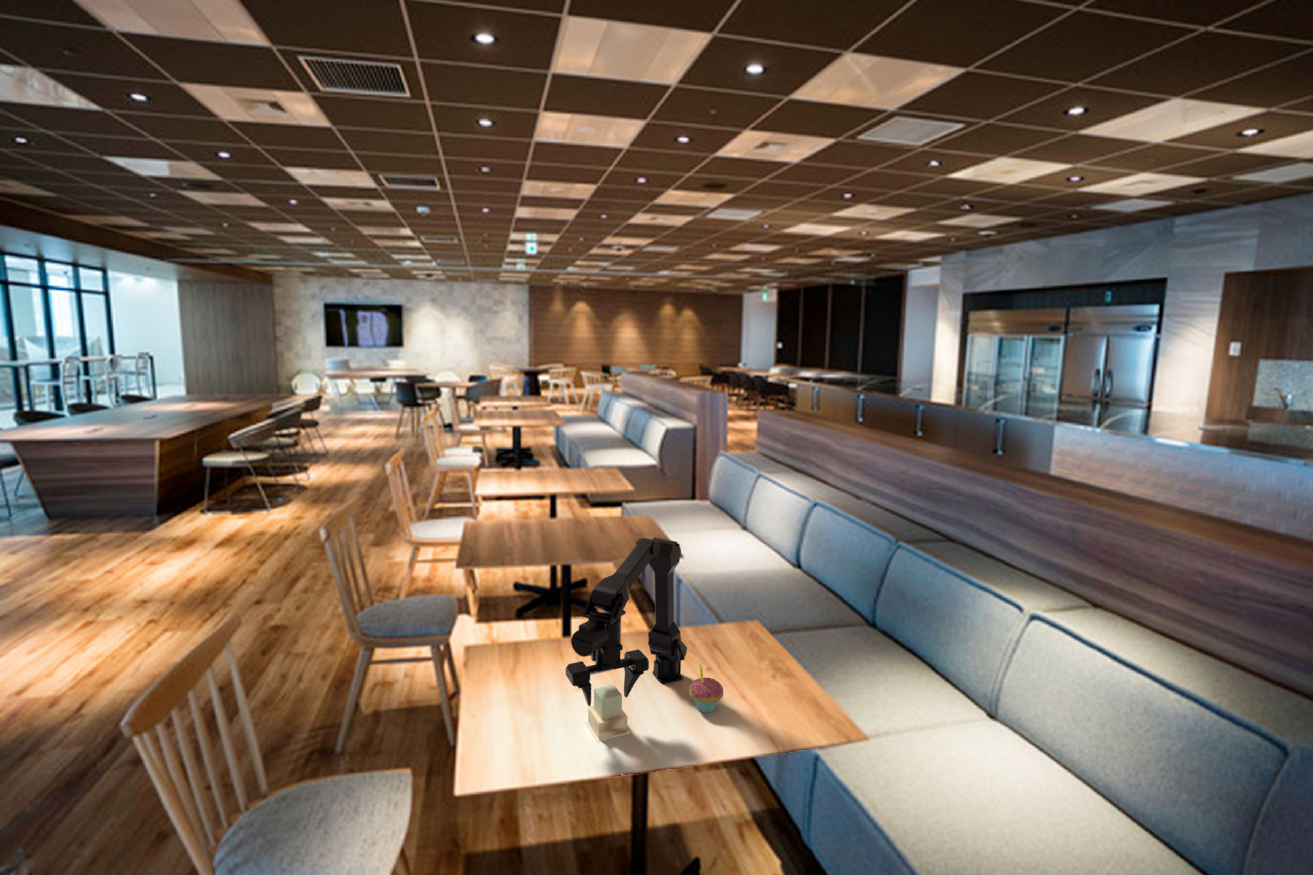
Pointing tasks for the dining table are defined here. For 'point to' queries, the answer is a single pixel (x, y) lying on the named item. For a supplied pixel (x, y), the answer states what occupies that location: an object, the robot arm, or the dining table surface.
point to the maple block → (607, 724)
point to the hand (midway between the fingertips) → (607, 700)
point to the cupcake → (706, 693)
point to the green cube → (607, 702)
